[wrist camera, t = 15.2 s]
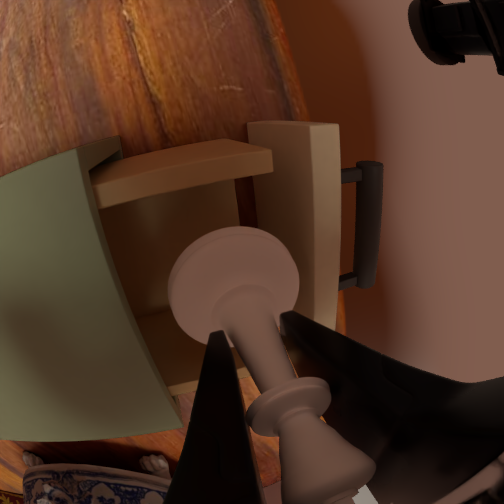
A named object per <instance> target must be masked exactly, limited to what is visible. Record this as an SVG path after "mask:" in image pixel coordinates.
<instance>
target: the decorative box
mask: <svg viewBox="0 0 504 504" xmlns="http://www.w3.org/2000/svg"><path fill="white" fill-rule="evenodd" d="M0 504H24V497H23V495H20V494H15V493H10V492H5V491H1V490H0Z"/></svg>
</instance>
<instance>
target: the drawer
mask: <svg viewBox="0 0 504 504" xmlns="http://www.w3.org/2000/svg"><path fill="white" fill-rule="evenodd" d="M247 131H248V140H249V144H247V143H243V142H239V141H235V140H230V139H226V138H223V139H217V140H211V141H205V142H199V143H193V144H188V145H183V146H178V147H173V148H168V149H163V150H159V151H154V152H150V153H145V154H141V155H137V156H133V157H129V158H125V159H121V160H117V161H114V162H110V163H106V164H103V165H99V166H96V167H93V168H92V169H90V170H89V171H88V173H89V177H90V181H91V186H92V190H93V194H94V198H95V202H96V205H97V209H98V213H99V216H100V220H101V224H102V227H103V230H104V234H105V237H106V240H107V243H108V247H109V250H110V253H111V256H112V259H113V262H114V265H115V268H116V271H117V273H118V276H119V279H120V282H121V285H122V287H123V290H124V293H125V295H126V298H127V300H128V303H129V306H130V308H131V311H132V313H133V316H134V318H135V320H136V323H137V325H138V327H139V330H140V332H141V334H142V337H143V339H144V341H145V343H146V346H147V348H148V350H149V352H150V354H151V357H152V359H153V361H154V363H155V365H156V367H157V369H158V371H159V373H160V375H161V377H162V379H163V381H164V383H165V385H166V387H167V389H168V391H169V393H170V395H171V396H175V395H180V394H184V393H188V392H193V391H196V390H197V385H198V381H199V377H200V372H201V368H202V364H203V359H204V355H205V351H206V346H207V344H204V343H201V342H199V341H197V340H195V339H193V338H192V337H190V336H189V335H188V334H187V333H185V332H184V331H183V330H182V328H181V327H180V326H179V324H178V323H177V321H176V319H175V317H174V315H173V312H172V309H171V307H170V304H169V300H168V280H169V276H170V273H171V270H172V268H173V266H174V264H175V262H176V261H177V259H178V257H179V256H180V255H181V254H182V252H183V251H184V250H185V249H186V248H187V247H188V246H189V245H191V244H192V243H193V242H194V241H196V240H197V239H199V238H200V237H202V236H204V235H206V234H208V233H210V232H213V231H215V230H218V229H222V228H227V227H236V226H240V220H239V213H238V205H237V197H236V189H235V182H234V179H236V178H242V177H247V176H253V186H254V195H255V204H256V214H257V223H258V229H260V230H263V231H265V232H267V233H269V234H271V235H273V236H274V237H276V238H277V239H278V240H279V241H281V242H282V243H283V244H284V246H285V247H286V248H287V250H288V251H289V253H290V255H291V257H292V259H293V260H294V262H295V264H296V267H297V270H298V274H299V292H298V296H297V300H296V302H295V305H294V307H293V309H292V310H293V311H296V312H298V313H300V314H301V315H303V316H305V317H307V318H309V319H311V320H313V321H316V322H318V323H320V324H322V325H324V326H326V327H328V328H330V329H332V330H334V331H335V323H336V311H337V299H338V291H340V290H343V289H346V288H349V287H352V286H354V285H355V286H356V287H359V288H370V287H372V286H373V285H374V283H375V276H376V268H377V260H378V251H379V240H380V228H381V214H382V195H383V194H382V193H383V164H382V163H380V162H375V161H359V162H357V163H356V167H354V168H346V169H341V165H340V164H341V162H340V138H339V125H338V124H334V123H320V122H303V121H270V120H265V121H256V122H247ZM350 182H356V222H355V244H354V260H353V272H350V273H347V274H344V275H340V276H339V265H340V238H341V184H343V183H350ZM230 348H231V350H232V353H233V356H234V359H235V364H236V368H237V373H238V377H239V379H242V378H246V377H249V376H251V375H250V373H249V371H248V370H247V368H246V366H245V364H244V363H243V361H242V359H241V358H240V356H239V354H238V352H237V351H236V349H235V347H230Z"/></svg>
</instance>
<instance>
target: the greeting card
mask: <svg viewBox="0 0 504 504" xmlns="http://www.w3.org/2000/svg"><path fill="white" fill-rule="evenodd" d="M263 490H264V494H265V498H266V502H267V504H282V501H281V481H278V482H276V483H274V484H272V485H269V486H267V487H264V488H263Z"/></svg>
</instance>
